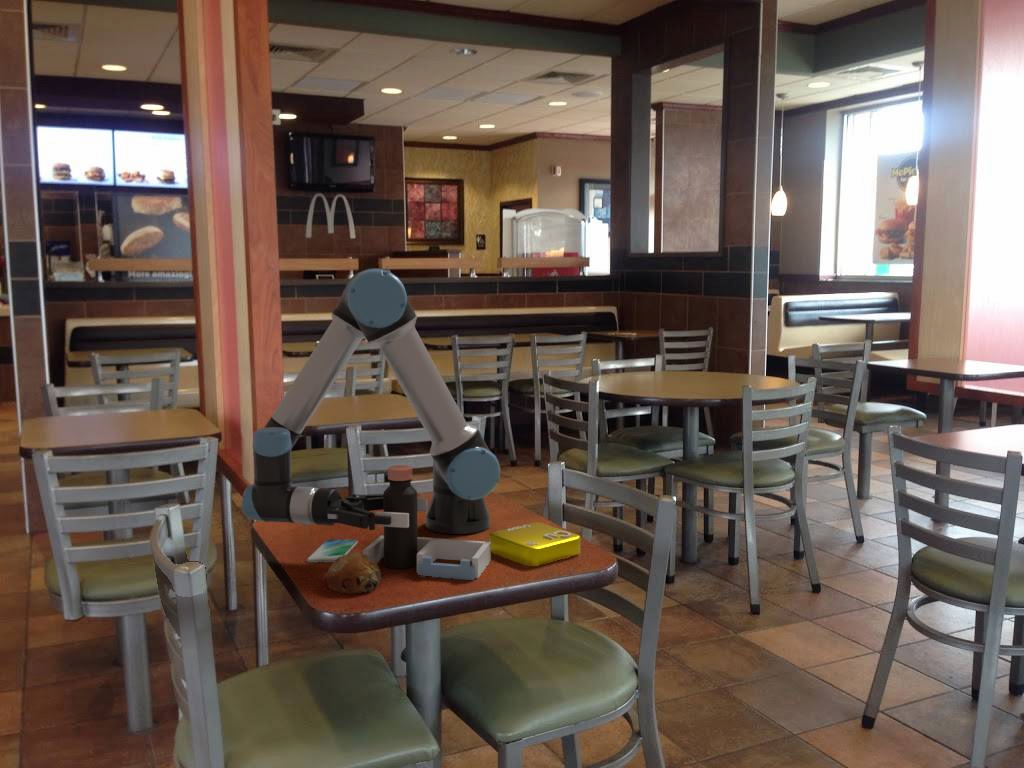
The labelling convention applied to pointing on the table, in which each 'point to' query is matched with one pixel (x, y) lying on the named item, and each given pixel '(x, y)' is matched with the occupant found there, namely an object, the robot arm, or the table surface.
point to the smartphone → (332, 550)
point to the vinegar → (400, 500)
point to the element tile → (534, 543)
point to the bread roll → (353, 574)
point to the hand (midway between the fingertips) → (418, 512)
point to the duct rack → (443, 556)
